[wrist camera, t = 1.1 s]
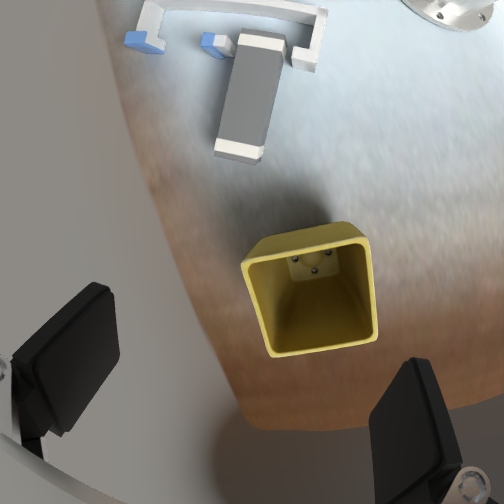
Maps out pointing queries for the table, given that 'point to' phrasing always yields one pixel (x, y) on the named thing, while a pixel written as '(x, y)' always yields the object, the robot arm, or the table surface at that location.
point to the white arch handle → (252, 3)
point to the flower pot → (313, 289)
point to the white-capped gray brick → (250, 96)
